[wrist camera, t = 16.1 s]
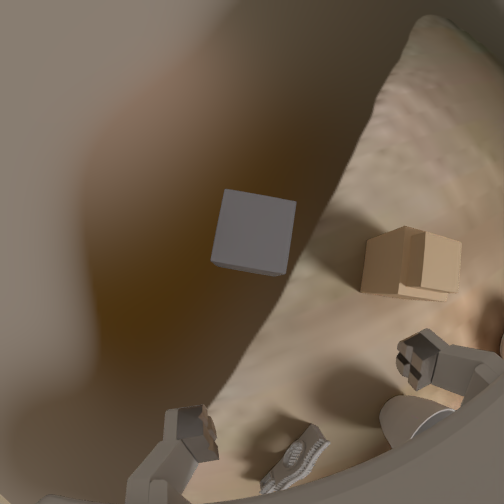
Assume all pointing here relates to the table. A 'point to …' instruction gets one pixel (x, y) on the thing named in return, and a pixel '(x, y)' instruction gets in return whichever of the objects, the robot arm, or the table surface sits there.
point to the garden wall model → (290, 471)
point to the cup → (409, 417)
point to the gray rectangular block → (253, 233)
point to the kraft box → (411, 265)
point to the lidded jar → (502, 347)
